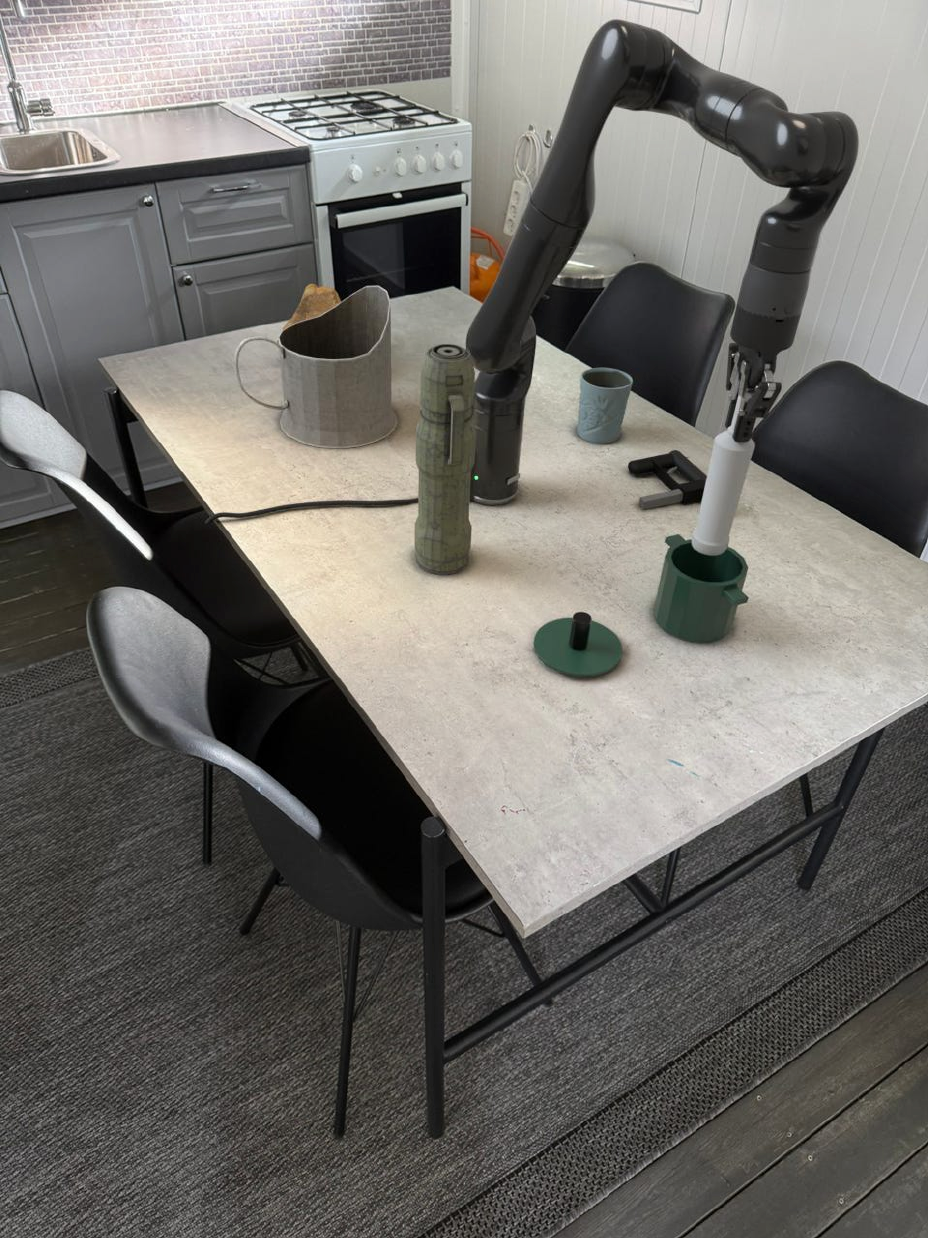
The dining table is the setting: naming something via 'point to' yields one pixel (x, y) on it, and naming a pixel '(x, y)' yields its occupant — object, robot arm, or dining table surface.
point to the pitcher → (337, 373)
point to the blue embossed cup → (602, 404)
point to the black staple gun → (671, 479)
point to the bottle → (722, 490)
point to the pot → (699, 592)
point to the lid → (578, 646)
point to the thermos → (445, 460)
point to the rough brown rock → (314, 303)
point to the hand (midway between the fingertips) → (736, 434)
